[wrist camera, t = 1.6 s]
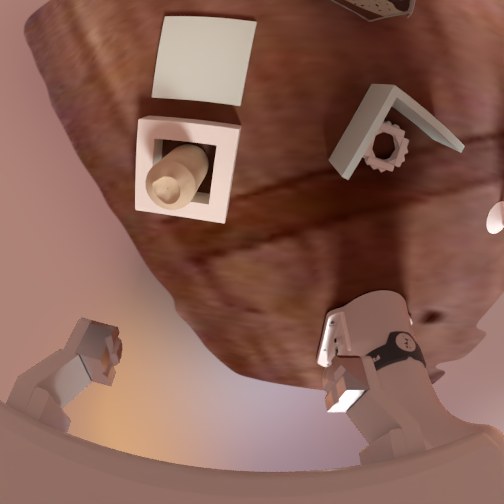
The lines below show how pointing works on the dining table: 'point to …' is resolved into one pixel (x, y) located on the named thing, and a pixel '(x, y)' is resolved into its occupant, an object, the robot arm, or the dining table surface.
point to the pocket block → (197, 132)
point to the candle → (177, 177)
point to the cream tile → (203, 59)
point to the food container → (378, 8)
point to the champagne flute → (496, 218)
